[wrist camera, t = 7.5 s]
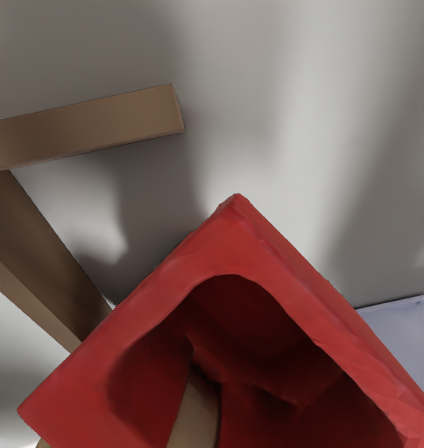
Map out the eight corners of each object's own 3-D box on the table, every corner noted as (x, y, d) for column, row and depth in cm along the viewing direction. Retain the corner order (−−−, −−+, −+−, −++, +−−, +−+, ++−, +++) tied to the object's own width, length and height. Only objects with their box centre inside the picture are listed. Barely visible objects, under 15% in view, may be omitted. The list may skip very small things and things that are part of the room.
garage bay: (178, 102, 8) (171, 83, 5) (233, 340, 17) (241, 377, 15) (-37, 148, 8) (-157, 153, 5) (136, 361, 17) (126, 402, 14)
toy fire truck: (112, 310, 14) (-157, 587, 4) (234, 185, 10) (230, 187, 1) (143, 336, 14) (-49, 657, 4) (272, 223, 10) (647, 603, 1)
